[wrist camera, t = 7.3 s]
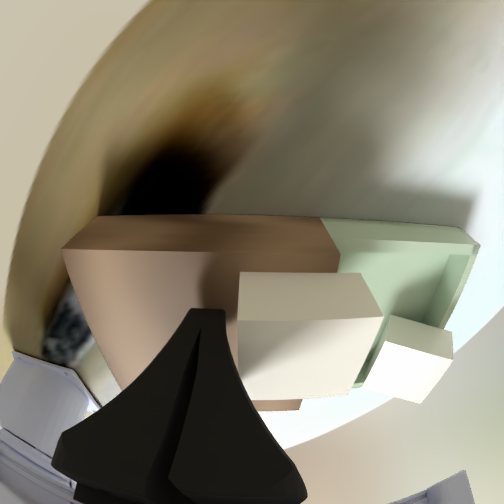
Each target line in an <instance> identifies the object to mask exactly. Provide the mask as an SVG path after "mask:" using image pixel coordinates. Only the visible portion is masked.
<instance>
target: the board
mask: <svg viewBox="0 0 504 504" xmlns="http://www.w3.org/2000/svg"><path fill="white" fill-rule="evenodd" d="M61 252H62V255H63V258H64V261H65V265H66V268H67V271H68V274H69V277H70V280H71V282H72V285H73V288H74V291H75V293H76V296H77V299H78V301H79V304H80V306H81V309H82V311H83V314H84V316H85V319H86V321H87V323H88V326H89V328H90V330H91V332H92V334H93V337H94V339H95V341H96V343H97V345H98V347H99V349H100V351H101V353H102V355H103V357H104V359H105V361H106V363H107V365H108V367H109V369H110V371H111V372H112V374H113V376H114V378H115V380H116V381H117V383H118V385H119V387H120V388H121V390H122V391H123V390H124V389H125V388H126V387H127V386H129V385H130V384H131V383H132V382H133V381H134V380H135V379H136V378H137V377H138V376H139V375H140V374H141V373H142V372H143V371H144V370H145V368H146V367H147V366H148V365H149V364H150V363H151V362H152V360H153V359H154V358H155V357H156V356H157V354H158V353H159V352H160V351H161V350H162V348H163V347H164V346H165V344H166V343H167V342H168V340H169V339H170V338H171V336H172V335H173V334H174V332H175V331H176V329H177V328H178V326H179V325H180V323H181V322H182V320H183V319H184V317H185V316H186V314H187V312H188V311H189V309H191V308H207V309H223V310H224V311H225V312H226V332H227V338H228V342H229V346H230V350H231V353H232V356H233V359H234V362H235V365H236V368H237V371H238V338H237V315H238V297H239V280H240V272H290V273H337V271H338V266H339V261H340V256H341V254H340V252H339V250H338V249H337V247H336V245H335V243H334V241H333V240H332V238H331V236H330V234H329V233H328V231H327V229H326V228H325V226H324V224H323V222H322V221H321V219H320V217H299V216H267V215H121V216H97V217H96V218H95V219H93V220H92V221H91V222H90V223H89V224H88V225H86V226H85V227H84V228H83V229H82V230H81V231H80V232H79V233H78V234H76V235H75V236H74V237H73V238H72V239H71V240H70V241H69V242H68V243H67V244H66V245H65V246H64V247H62V248H61ZM251 401H252V403H253V405H254V407H255V409H256V410H257V411H287V410H299V408H300V405H301V402H302V399H288V400H251Z"/></svg>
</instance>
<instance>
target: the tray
mask: <svg viewBox="0 0 504 504" xmlns="http://www.w3.org/2000/svg"><path fill="white" fill-rule="evenodd" d="M320 219H321V221H322V222H323V224H324V226H325V228H326V229H327V231H328V233H329V234H330V236H331V238H332V240H333V241H334V243H335V245H336V247H337V249H338V250H339V252H340V254H341V256H340V261H339V266H338V271H337V273H361V275H362V277H363V278H364V280H365V282H366V284H367V286H368V287H369V289H370V291H371V293H372V295H373V296H374V298H375V300H376V302H377V304H378V306H379V308H380V310H381V311H382V313H383V315H384V318H383V321H382V323H381V326H380V328H379V330H378V333H377V335H376V337H375V340H374V342H373V344H372V346H371V349H370V351H369V353H368V355H367V357H366V360H365V362H364V364H363V366H362V368H361V370H360V372H359V374H358V376H357V378H356V380H355V382H354V384H353V386H352V388H359V387H362V385H363V382H364V379H365V375H366V372H367V369H368V365H369V362H370V360H371V357H372V355H373V353H374V351H375V349H376V347H377V345H378V342H379V340H380V338H381V336H382V333H383V331H384V329H385V326H386V324H387V322H388V319H389V317H390V314H391V315H395V316H398V317H402V318H405V319H408V320H412V321H415V322H419V323H422V324H426V325H429V326H433V327H436V328H440V329H444V327H445V325H446V323H447V321H448V320H449V318H450V316H451V314H452V312H453V310H454V308H455V306H456V304H457V301H458V299H459V297H460V295H461V293H462V291H463V288H464V286H465V284H466V281H467V279H468V277H469V274H470V272H471V269H472V267H473V264H474V262H475V259H476V256H477V254H478V251H479V248H480V244H479V243H477V242H476V241H475V240H474V239H473V238H471V237H470V236H469V235H468V234H466V233H465V232H464V231H463V230H461V229H460V228H458V227H449V226H438V225H427V224H416V223H403V222H390V221H376V220H360V219H343V218H323V217H320Z"/></svg>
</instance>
